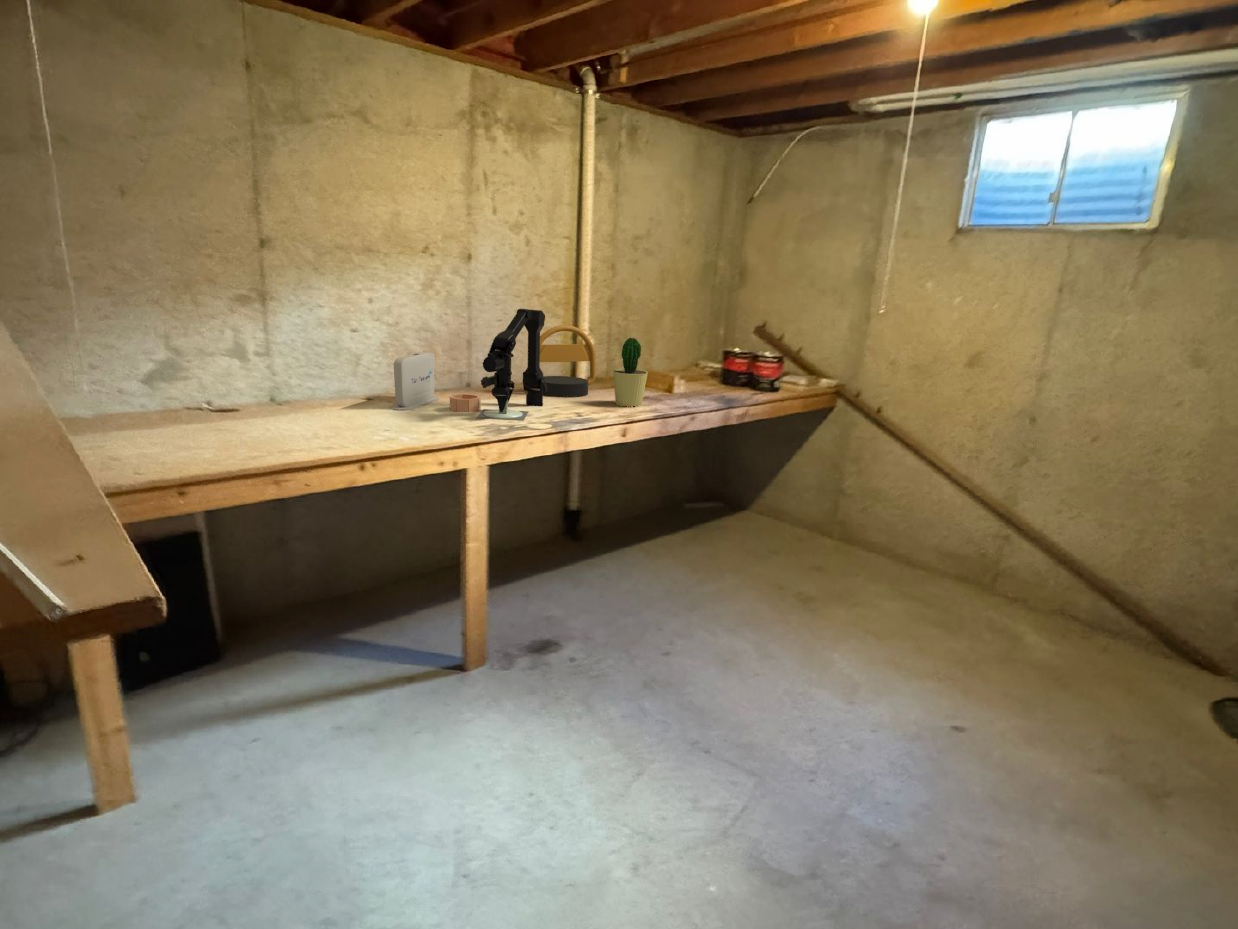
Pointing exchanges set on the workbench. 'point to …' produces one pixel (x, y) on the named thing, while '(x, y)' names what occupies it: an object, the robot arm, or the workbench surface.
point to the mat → (481, 416)
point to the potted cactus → (629, 376)
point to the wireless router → (414, 381)
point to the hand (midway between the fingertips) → (503, 409)
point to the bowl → (465, 403)
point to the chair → (567, 353)
